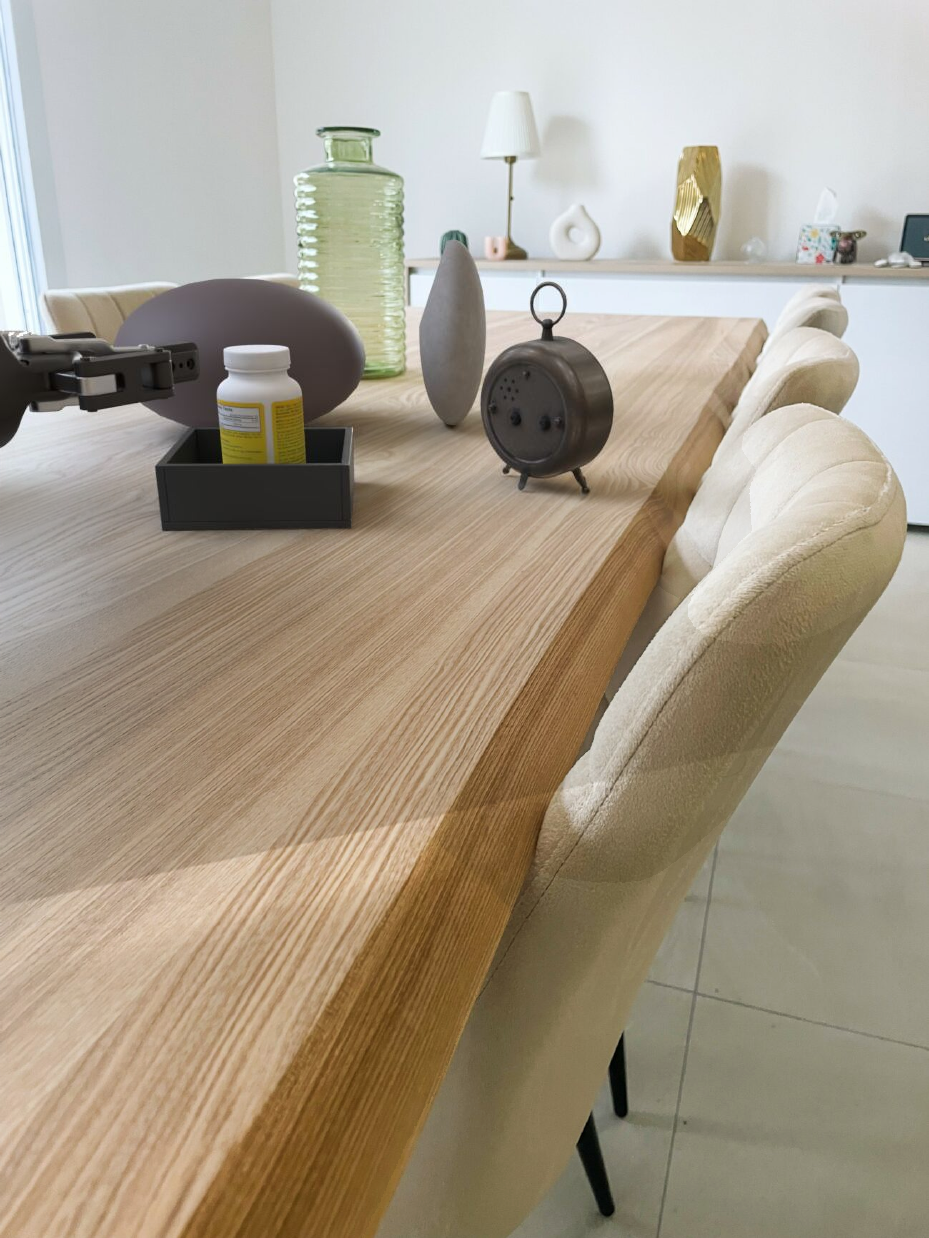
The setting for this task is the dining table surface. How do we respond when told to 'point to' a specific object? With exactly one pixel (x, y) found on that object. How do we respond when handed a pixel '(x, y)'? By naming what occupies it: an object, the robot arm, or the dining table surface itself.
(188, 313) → the smooth stone
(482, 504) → the dining table surface
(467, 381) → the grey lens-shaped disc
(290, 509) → the bin
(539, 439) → the alarm clock
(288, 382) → the pill bottle
